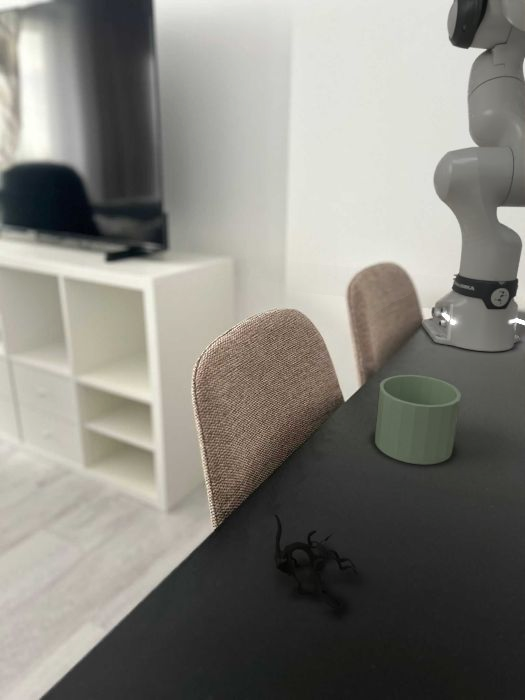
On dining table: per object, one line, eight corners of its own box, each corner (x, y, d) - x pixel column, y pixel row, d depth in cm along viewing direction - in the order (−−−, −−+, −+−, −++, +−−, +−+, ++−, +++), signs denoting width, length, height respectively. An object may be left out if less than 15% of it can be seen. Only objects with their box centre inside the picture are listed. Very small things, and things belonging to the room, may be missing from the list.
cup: (365, 428, 72) (369, 376, 70) (432, 425, 74) (439, 373, 71) (389, 466, 63) (396, 408, 60) (466, 462, 64) (476, 404, 62)
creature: (341, 555, 50) (262, 543, 49) (357, 509, 48) (276, 496, 47) (362, 622, 43) (269, 610, 41) (381, 571, 41) (286, 557, 40)
